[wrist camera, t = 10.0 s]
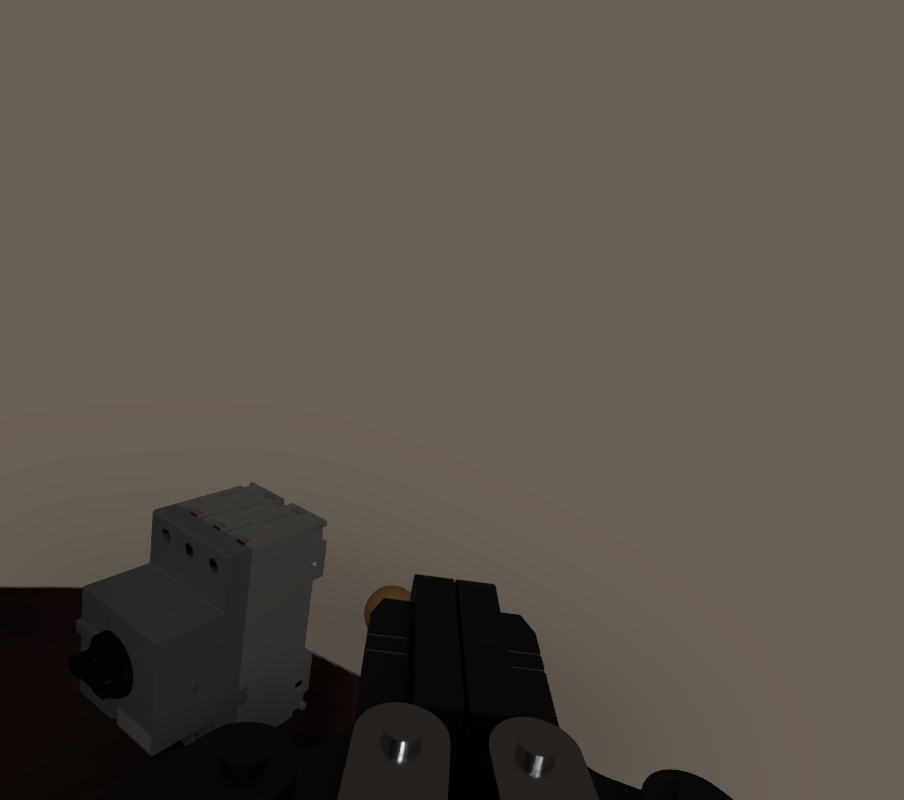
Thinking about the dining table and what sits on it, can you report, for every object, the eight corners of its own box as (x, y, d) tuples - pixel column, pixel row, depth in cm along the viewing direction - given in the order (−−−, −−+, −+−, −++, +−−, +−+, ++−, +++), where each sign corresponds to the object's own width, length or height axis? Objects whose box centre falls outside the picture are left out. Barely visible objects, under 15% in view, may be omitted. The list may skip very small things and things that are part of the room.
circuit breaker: (51, 755, 45) (55, 537, 41) (238, 659, 56) (255, 481, 52) (119, 827, 41) (131, 594, 37) (305, 707, 53) (329, 519, 49)
